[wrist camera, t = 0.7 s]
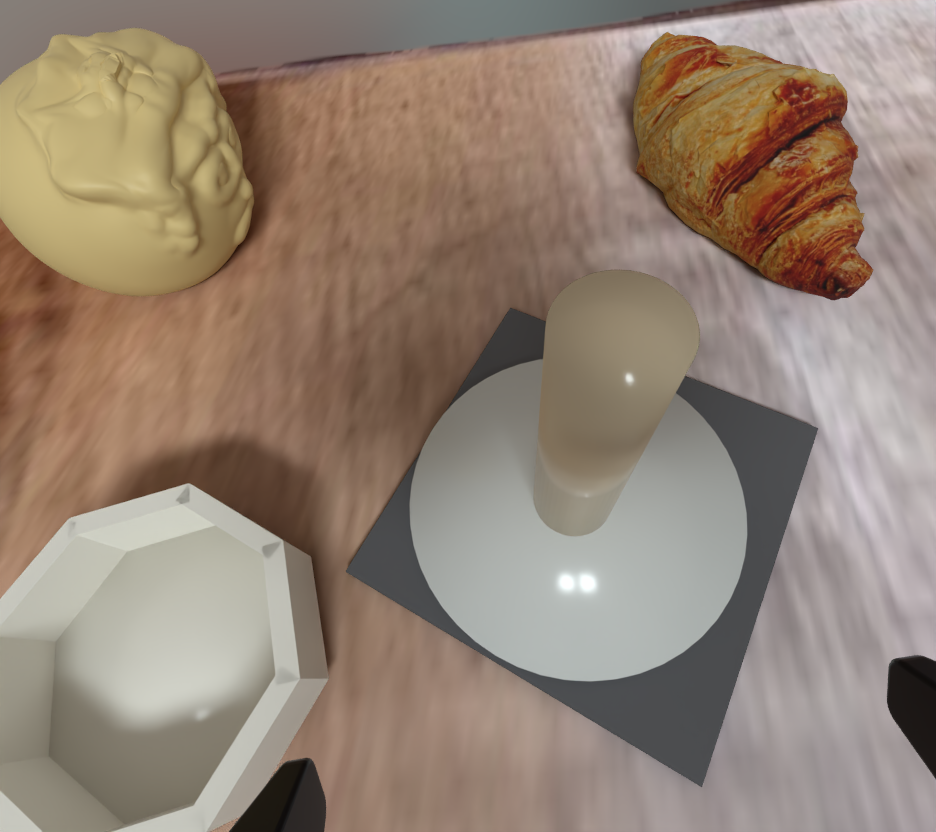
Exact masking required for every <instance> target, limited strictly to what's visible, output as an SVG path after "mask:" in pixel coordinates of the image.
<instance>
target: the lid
mask: <svg viewBox="0 0 936 832" xmlns="http://www.w3.org/2000/svg"><path fill="white" fill-rule="evenodd" d="M699 341H700V331H699V325H698V321H697V318H696V315H695V313H694V311H693V309H692V308H691V306H690V305H689V303H688V302H687V300H686V299H685V298H684V297H683V296H682V295H681V294H680V293H679V292H678V291H677V290H675V289H674V288H673V287H671V286H670V285H669V284H667V283H665V282H664V281H662V280H660V279H658V278H655V277H653V276H650V275H648V274H644V273H641V272H636V271H630V270H607V271H600V272H596V273H592V274H589V275H586V276H584V277H582V278H580V279H577V280H576V281H574V282H572V283H571V284H569V285H568V286H567V287H566V288H564V289H563V290H562V291H561V292H560V293H559V295H558V296H557V297H556V298H555V300H554V301H553V303H552V305H551V307H550V309H549V312H548V315H547V319H546V326H545V340H544V354H543V359H540V360H535V361H531V362H527V363H522V364H519V365H516V366H513V367H510V368H508V369H505V370H502V371H500V372H498V373H496V374H494V375H492V376H490V377H488V378H486V379H484V380H483V381H481V382H480V383H478V384H477V385H475V386H474V387H472V388H470V389H469V390H468V391H467V392H466V393H465V394H463V395H462V396H461V397H460V398H459V399H457V400H456V401H455V402H454V403H453V404H452V405H451V407H450V408H449V409H448V410H447V411H446V412H445V413H444V414H443V415H442V417H441V418H440V420H439V421H438V422H437V424H436V425H435V426H434V428H433V429H432V431H431V433H430V435H429V437H428V438H427V440H426V442H425V444H424V446H423V448H422V451H421V453H420V456H419V459H418V461H417V464H416V467H415V472H414V476H413V480H412V485H411V495H410V527H411V533H412V539H413V545H414V548H415V552H416V555H417V558H418V561H419V565H420V568H421V570H422V572H423V574H424V576H425V578H426V581H427V583H428V585H429V587H430V589H431V590H432V592H433V593H434V595H435V597H436V598H437V600H438V601H439V603H440V605H441V606H442V607H443V609H444V610H445V611H446V612H447V613H448V615H449V616H450V617H451V618H452V619H453V621H454V622H455V623H456V624H457V625H458V626H459V627H460V628H461V629H462V630H463V631H464V632H465V633H466V634H468V635H469V636H470V637H471V638H472V639H473V640H474V641H475V642H476V643H478V644H479V645H481V646H482V647H484V648H485V649H487V650H488V651H489V652H491V653H492V654H494V655H495V656H497V657H499V658H501V659H503V660H505V661H507V662H509V663H510V664H512V665H514V666H516V667H519V668H521V669H524V670H527V671H530V672H533V673H536V674H539V675H542V676H547V677H552V678H557V679H562V680H574V681H602V680H614V679H619V678H624V677H628V676H632V675H636V674H640V673H643V672H645V671H648V670H650V669H653V668H655V667H658V666H660V665H663V664H665V663H666V662H668V661H670V660H671V659H673V658H675V657H676V656H678V655H680V654H681V653H683V652H684V651H686V650H687V649H688V648H689V647H690V646H692V645H693V644H694V643H695V642H696V641H698V640H699V639H700V638H701V637H702V636H703V635H704V634H705V633H706V632H707V631H708V630H709V628H710V627H711V626H712V625H713V624H714V623H715V622H716V620H717V619H718V618H719V616H720V615H721V613H722V612H723V610H724V608H725V607H726V605H727V604H728V602H729V600H730V599H731V596H732V594H733V592H734V589H735V587H736V585H737V583H738V580H739V577H740V574H741V570H742V566H743V562H744V558H745V552H746V542H747V512H746V507H745V501H744V495H743V490H742V487H741V484H740V481H739V478H738V475H737V471H736V469H735V467H734V465H733V463H732V460H731V458H730V456H729V454H728V452H727V450H726V448H725V447H724V445H723V444H722V442H721V441H720V439H719V437H718V436H717V434H716V433H715V431H714V430H713V429H712V428H711V426H710V425H709V424H708V423H707V422H706V420H705V419H704V418H703V417H702V416H701V415H700V414H699V413H698V412H697V411H696V410H695V409H694V408H693V407H692V406H691V405H690V404H689V403H688V402H687V401H686V400H684V399H683V398H682V397H680V396H679V395H678V394H676V391H677V390H678V388H679V386H680V384H681V382H682V380H683V379H684V377H685V375H686V373H687V371H688V369H689V368H690V366H691V364H692V362H693V360H694V358H695V357H696V354H697V351H698V347H699Z"/></svg>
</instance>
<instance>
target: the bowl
mask: <svg viewBox="0 0 936 832" xmlns="http://www.w3.org/2000/svg"><path fill="white" fill-rule="evenodd" d="M328 679H329V676H328V669H327V662H326V656H325V649H324V642H323V635H322V628H321V621H320V615H319V608H318V601H317V594H316V587H315V580H314V574H313V567H312V560H311V556H309V555H308V554H306V553H304V552H303V551H301V550H299V549H298V548H296V547H294V546H293V545H291V544H289V543H288V542H286V541H285V540H283V539H281V538H280V537H278V536H276V535H275V534H273V533H271V532H270V531H268V530H266V529H265V528H263V527H262V526H260V525H258V524H257V523H255V522H253V521H252V520H250V519H248V518H247V517H245V516H243V515H242V514H240V513H239V512H237V511H235V510H234V509H232V508H230V507H229V506H227V505H225V504H224V503H222V502H220V501H219V500H217V499H215V498H214V497H212V496H210V495H208V494H207V493H205V492H203V491H202V490H200V489H198V488H197V487H195V486H193V485H192V484H190V483H188V484H185V485H181V486H178V487H174V488H171V489H167V490H164V491H161V492H157V493H154V494H150V495H147V496H143V497H140V498H137V499H133V500H130V501H126V502H123V503H120V504H116V505H113V506H109V507H106V508H102V509H99V510H96V511H92V512H89V513H85V514H82V515H78V516H75V517H72V518H69V519H68V520H67V521H66V523H65V524H64V525H63V526H62V527H61V528H60V530H59V531H58V532H57V533H56V534H55V535H54V537H53V538H52V539H51V540H50V541H49V543H48V544H47V545H46V546H45V547H44V548H43V550H42V551H41V552H40V553H39V554H38V555H37V557H36V558H35V559H34V560H33V561H32V562H31V564H30V565H29V566H28V567H27V568H26V569H25V571H24V572H23V573H22V574H21V575H20V577H19V578H18V579H17V580H16V581H15V582H14V584H13V585H12V586H11V587H10V588H9V589H8V591H7V592H6V593H5V594H4V595H3V596H2V598H1V599H0V832H209V831H212V830H214V829H216V828H218V827H220V826H222V825H224V824H226V823H228V822H230V821H232V820H234V819H236V818H238V817H240V816H242V814H243V813H244V812H245V811H246V809H247V808H248V807H249V806H250V804H251V803H252V802H253V801H254V799H255V798H256V797H257V795H258V794H259V793H260V792H261V790H262V789H263V788H264V787H265V785H266V784H267V782H268V780H269V779H270V777H271V775H272V774H273V772H274V770H275V769H276V767H277V765H278V764H279V762H280V760H281V758H282V757H283V755H284V753H285V752H286V750H287V748H288V747H289V745H290V743H291V742H292V740H293V738H294V737H295V735H296V733H297V731H298V730H299V728H300V726H301V725H302V723H303V721H304V720H305V718H306V716H307V715H308V713H309V711H310V710H311V708H312V706H313V704H314V703H315V701H316V699H317V698H318V696H319V694H320V693H321V691H322V689H323V688H324V686H325V684H326V683H327V681H328Z"/></svg>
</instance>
